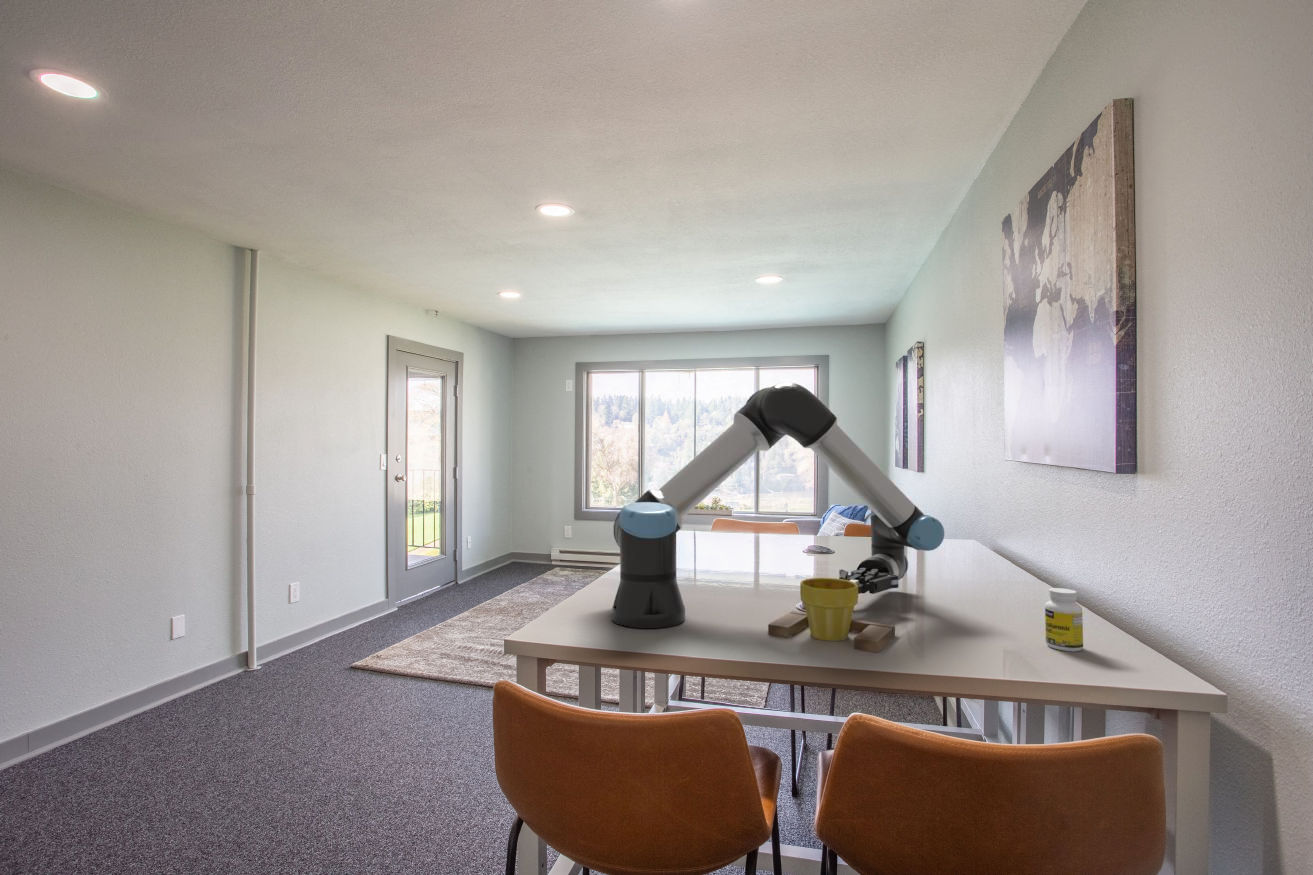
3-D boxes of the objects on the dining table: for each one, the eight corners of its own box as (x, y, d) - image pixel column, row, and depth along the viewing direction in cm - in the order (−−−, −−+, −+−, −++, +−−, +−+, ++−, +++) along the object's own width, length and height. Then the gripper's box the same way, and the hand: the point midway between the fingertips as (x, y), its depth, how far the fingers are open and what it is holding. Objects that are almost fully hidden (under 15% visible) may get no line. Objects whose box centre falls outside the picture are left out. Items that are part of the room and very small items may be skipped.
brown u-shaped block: (768, 633, 115) (768, 624, 115) (792, 619, 125) (792, 610, 125) (877, 652, 104) (877, 641, 104) (895, 635, 114) (895, 625, 114)
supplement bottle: (1038, 644, 108) (1037, 588, 108) (1059, 641, 110) (1057, 585, 110) (1070, 653, 103) (1068, 594, 103) (1090, 649, 105) (1089, 591, 105)
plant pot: (862, 646, 108) (861, 589, 108) (801, 642, 110) (801, 587, 110) (855, 629, 118) (854, 578, 118) (800, 627, 120) (799, 576, 120)
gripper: (907, 592, 137) (879, 616, 117) (849, 586, 144) (813, 606, 125) (907, 559, 137) (878, 576, 118) (848, 554, 144) (813, 569, 125)
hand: (845, 592), depth 121 cm, fingers closed
